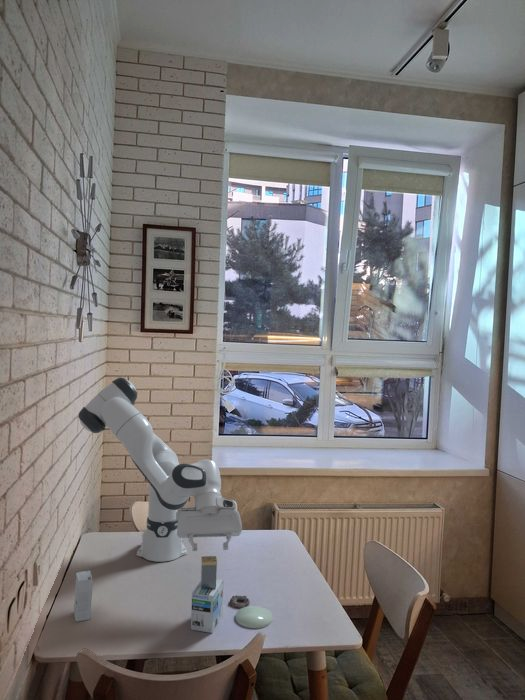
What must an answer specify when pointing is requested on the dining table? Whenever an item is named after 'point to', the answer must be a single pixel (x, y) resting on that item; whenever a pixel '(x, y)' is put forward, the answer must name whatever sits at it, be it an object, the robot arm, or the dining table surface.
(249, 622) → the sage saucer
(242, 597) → the donut
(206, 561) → the tea tin
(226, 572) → the dining table surface
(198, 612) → the light bulb box
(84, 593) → the skincare box
